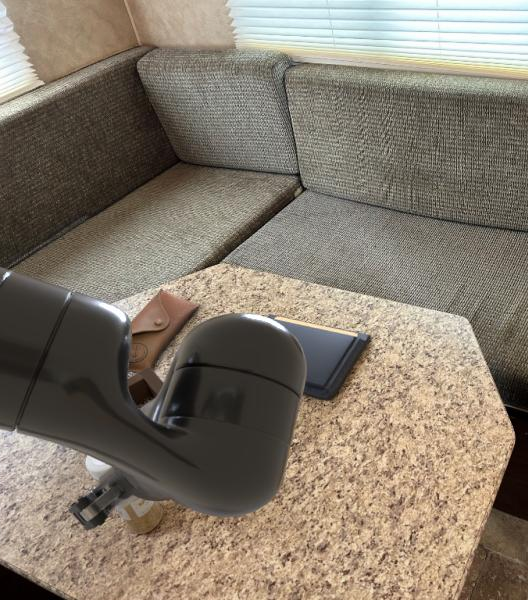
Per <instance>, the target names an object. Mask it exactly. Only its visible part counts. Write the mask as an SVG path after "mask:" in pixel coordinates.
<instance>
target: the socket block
mask: <svg viewBox="0 0 528 600" xmlns="http://www.w3.org/2000/svg"><path fill="white" fill-rule="evenodd" d="M163 383H164V381H163V380H162V378H160V377H159V376H158V374H157V373H156V372H155V370H154V369H153V368H152V369H151V367H148V368H146V369H144V370H142V371H141V372H139V373H138V372H136V373H135V374H133V375H132V376H130V377H128V388H129V393H130V395H131V397H132V399H133V401H134V403H135V404H136V405H139V404H141V403H142V402H145V401H146V400H148V399H149V398H151V397H153V399H154V398H155V397H157V395H158V393H159V392H160V390H161V388H162V386H163Z"/></svg>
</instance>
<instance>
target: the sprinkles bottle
mask: <svg viewBox="0 0 528 600" xmlns="http://www.w3.org/2000/svg"><path fill="white" fill-rule="evenodd" d="M85 467H86V469H87V471H88V472H89V474H90V476H91V478H93V479H94V480H95V481H97V483H98V485H99V484H100V482H99V477H100V476H101V475H103V474H104V473H105V472H106V471H108V470H109V469H110V468H111V467H112V466H110V465H108V464H105V463H103V462H101V461H99V460H97V459H94V458H92V457H90V456H88V455H86V459H85ZM106 490H107V489H106ZM114 500H115V499H114ZM114 509H115V511H116V512H117V514H118V515H119V517H120V518H121V519H122V520H123V521H124V523H125V524H126V526H127V529H128V530H129V532H131V533H132V534H136V535H145V534H147V533H149V532H151V531H153V530H154V529H155V528H156V527H157V526H159V524H160V522H161V521H162V519H163V517H164V509H163V507H162V505H161V504H160V503H159V501H148V500H144V499H141V498H137V499H136V500H134V501H133V502H132V503H130V504H129V505H128V506H126V507H121V506H117V507H115V508H114Z"/></svg>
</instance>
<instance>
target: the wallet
mask: <svg viewBox="0 0 528 600" xmlns="http://www.w3.org/2000/svg"><path fill="white" fill-rule="evenodd" d="M266 317H267V318H270V319H272V320H274V321H276V322H278V323H280V324H281V325H283V326H284V327H285V328H287V329H288V330H289V331H290V332H291V333H292V334H293V335H294V336H295V337H296V339H297V340H298V342H299V344H300V345H301V347H302V349H303V351H304V355H305V358H306V365H307V373H306V381H305V386H304V391H303V395H302V396H306V397H309V398H313V399H317V400H321V401H327V402H328V401H330V400H332V399H333V398H335V397H336V396H337V394H338V393H339V391H340V390H341V389H342V387H343V386H344V385H343V384H344V383H345V382H346V380H347V378H348V376H349V375H350V373H351V371H352V370H353V367H354V366H355V365H356V363H357V361H358V360H359V358H360V357H361V355H362V354H363V352H364V350H365V349H366V347H367V345H368V344H369V342H370V340H371V339H372V336H371V334H367V333H363V332H359V331H354V330H348V329H343V328H338V327H333V326H328V325H324V324H319V323H315V322H309V321H305V320H300V319H295V318H290V317H286V316H280V315H276V314H271V313H269V314H268V315H267V316H266Z"/></svg>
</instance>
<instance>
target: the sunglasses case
mask: <svg viewBox="0 0 528 600" xmlns="http://www.w3.org/2000/svg"><path fill="white" fill-rule="evenodd" d="M200 307H201V303H193V302H191V301H189V300H186V299H184V298H182V297H179V296H177V295H175V294H173V293H170V292H168V291H165V290H164V289H163V288H160V289H159V291H158V292H157V293H156V294H155V295H154V297H153V298H152V299H151V300H150V301H148V303H147V304H145V306H144V307H143V308H142V309H141V310H140V311H139V312H138V313H137V314H136V315H135V317H134V318H132V320H131V324H132V344H131V353H130V360H129V369H128V373H139V372H141V371H142V370H144V369H146V368H148V367H151V369H152V370H153V368H154V366H155V364H156V362H157V361H158V360H159V358H160V356H161V355H162V354H163V353H164V351H166V348H167V347H169V345H170V344H171V342H172V341H173V340H174V338H176V336H178V334H179V332H180V331H181V330H182V329H183V328H184V327H185V326H186V324H187V323H188V322H189V320H190V319H191V318H192V317H193V316H194V315H195V313H196V312H197V311H198V310H199V308H200Z"/></svg>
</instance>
